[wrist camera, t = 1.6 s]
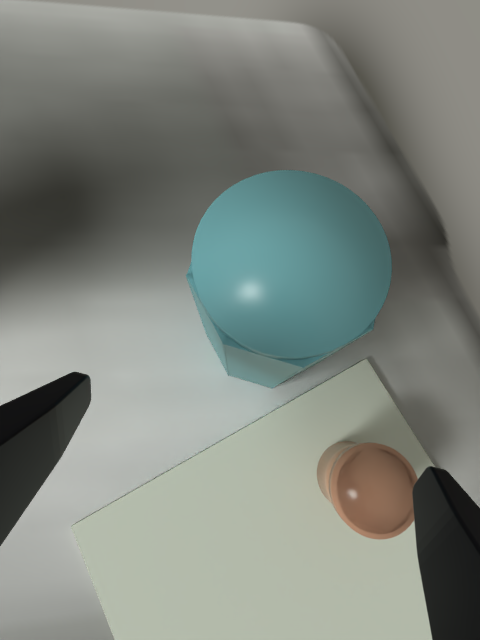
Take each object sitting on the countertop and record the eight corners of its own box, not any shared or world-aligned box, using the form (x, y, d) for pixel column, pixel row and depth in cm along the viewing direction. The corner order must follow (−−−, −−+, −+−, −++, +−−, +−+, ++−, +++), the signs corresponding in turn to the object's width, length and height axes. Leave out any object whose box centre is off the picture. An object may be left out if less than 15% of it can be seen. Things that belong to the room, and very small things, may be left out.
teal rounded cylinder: (243, 404, 21) (252, 396, 11) (193, 309, 23) (156, 218, 12) (337, 351, 22) (432, 295, 12) (283, 263, 24) (324, 141, 13)
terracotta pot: (337, 529, 19) (363, 558, 16) (299, 459, 20) (315, 470, 16) (398, 490, 20) (438, 509, 16) (359, 424, 21) (387, 427, 17)
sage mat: (188, 818, 17) (187, 828, 16) (74, 524, 20) (70, 526, 19) (508, 589, 19) (514, 593, 19) (364, 359, 22) (366, 358, 22)
